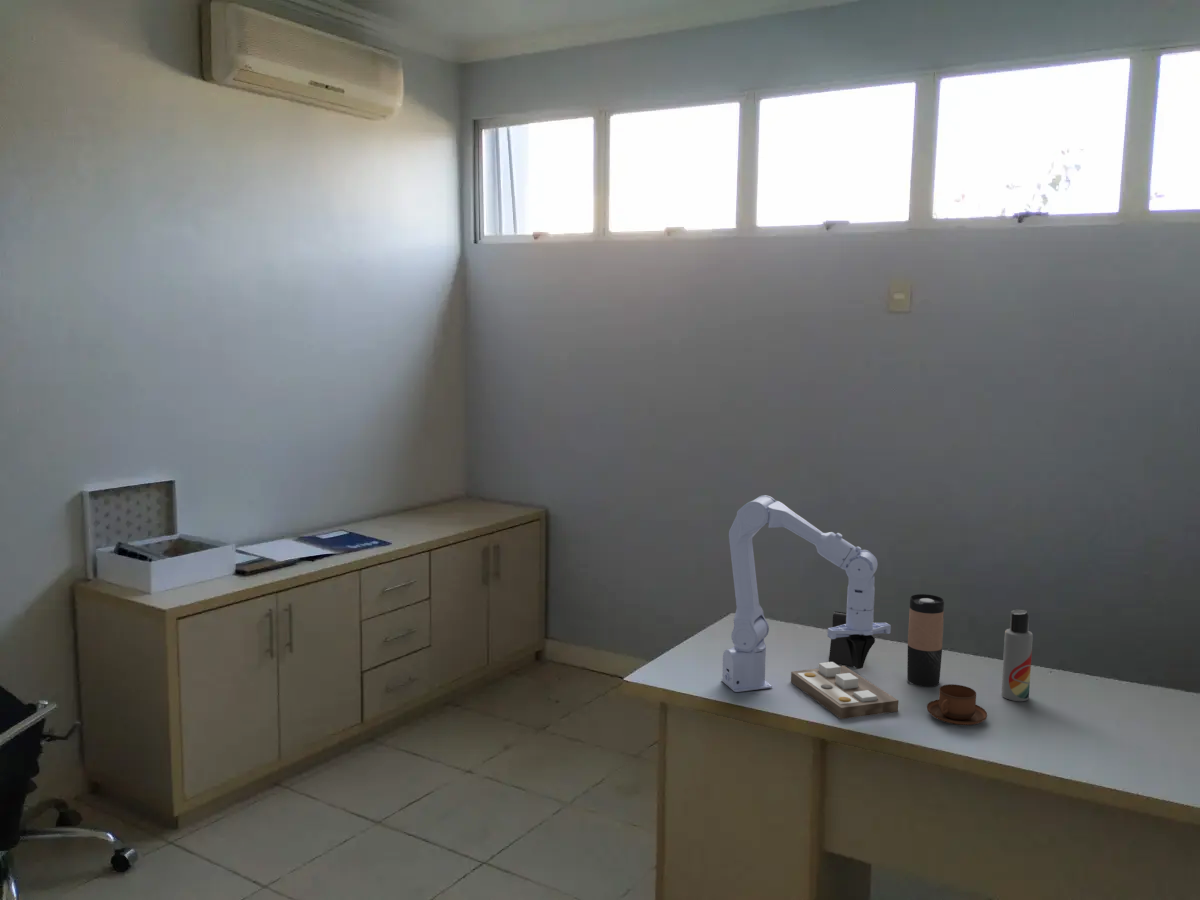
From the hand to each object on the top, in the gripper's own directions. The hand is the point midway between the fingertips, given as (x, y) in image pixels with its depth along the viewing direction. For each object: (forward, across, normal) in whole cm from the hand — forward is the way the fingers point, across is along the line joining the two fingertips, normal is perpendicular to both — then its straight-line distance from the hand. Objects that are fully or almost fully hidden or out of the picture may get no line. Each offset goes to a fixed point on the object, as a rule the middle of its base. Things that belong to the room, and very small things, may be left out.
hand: (857, 667), depth 206 cm
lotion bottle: (+8, +36, -7) cm, 38 cm away
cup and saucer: (+9, +16, -13) cm, 22 cm away
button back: (+7, 0, +12) cm, 14 cm away
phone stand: (+9, +12, +25) cm, 29 cm away
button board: (+8, -1, +4) cm, 9 cm away
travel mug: (+8, +22, +7) cm, 25 cm away
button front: (+8, 0, -3) cm, 9 cm away
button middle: (+7, 0, +4) cm, 8 cm away
